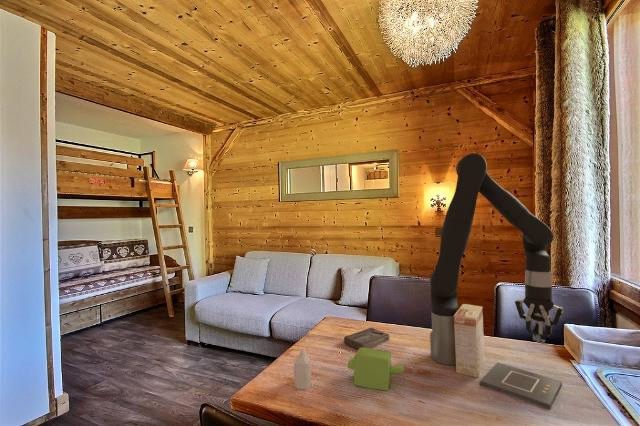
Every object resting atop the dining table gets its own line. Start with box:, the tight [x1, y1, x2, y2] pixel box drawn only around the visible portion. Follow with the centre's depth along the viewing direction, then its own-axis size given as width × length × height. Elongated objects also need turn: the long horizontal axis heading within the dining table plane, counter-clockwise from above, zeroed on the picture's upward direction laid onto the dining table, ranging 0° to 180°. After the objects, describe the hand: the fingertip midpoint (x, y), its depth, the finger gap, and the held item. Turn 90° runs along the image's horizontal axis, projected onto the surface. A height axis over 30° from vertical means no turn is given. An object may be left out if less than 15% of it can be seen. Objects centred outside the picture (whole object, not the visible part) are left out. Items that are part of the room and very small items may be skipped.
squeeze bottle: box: [293, 347, 312, 391], centre depth 103 cm, size 6×12×6 cm
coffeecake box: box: [454, 303, 486, 379], centre depth 110 cm, size 15×7×20 cm, turn 144°
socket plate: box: [479, 362, 563, 410], centre depth 98 cm, size 18×16×1 cm
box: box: [343, 327, 390, 351], centre depth 134 cm, size 11×17×3 cm, turn 130°
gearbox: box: [347, 348, 405, 391], centre depth 103 cm, size 18×10×10 cm, turn 70°
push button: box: [531, 313, 547, 345], centre depth 107 cm, size 7×5×10 cm
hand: (538, 333), depth 107 cm, fingers closed on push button, 4 cm apart
